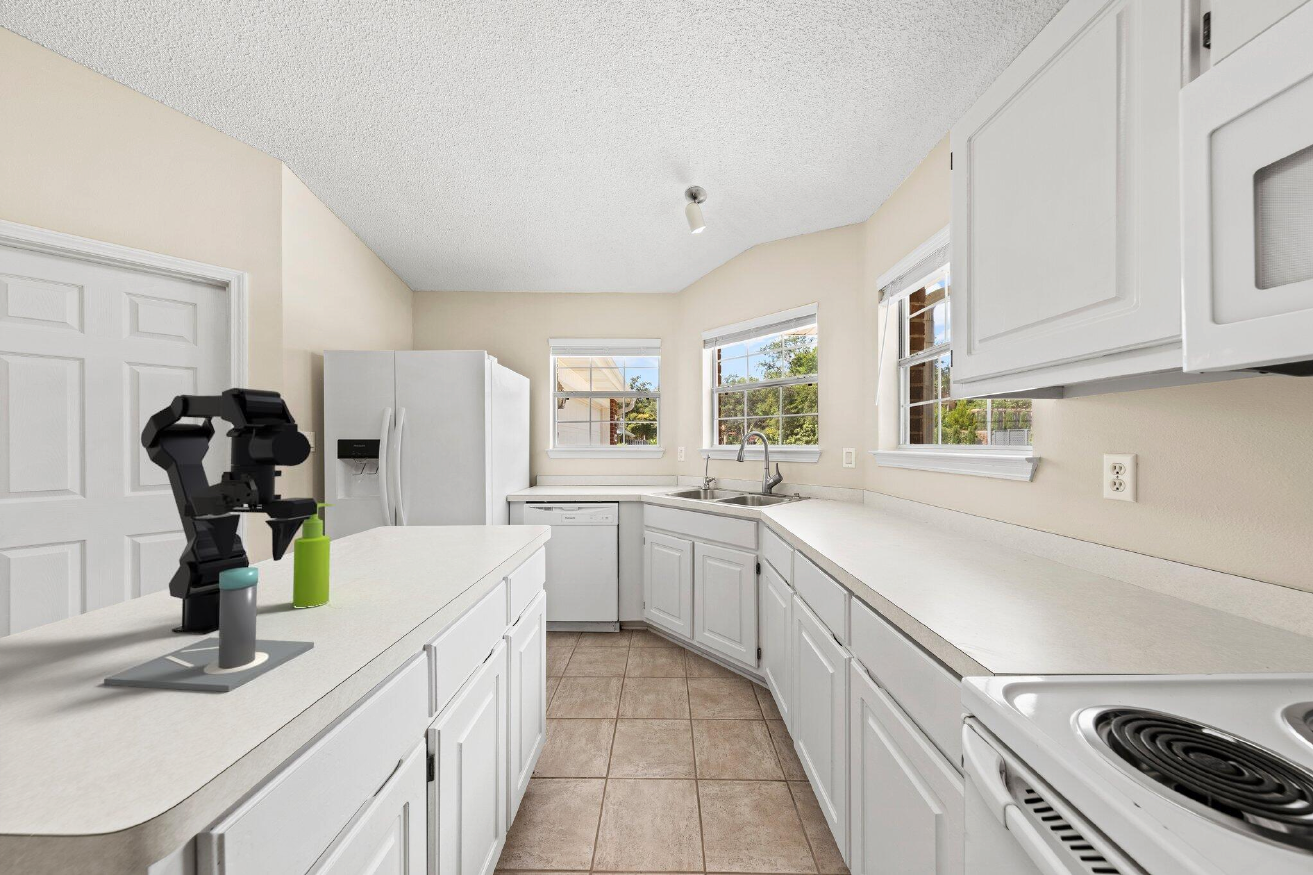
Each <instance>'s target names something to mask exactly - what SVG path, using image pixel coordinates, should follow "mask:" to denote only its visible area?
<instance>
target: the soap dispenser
mask: <svg viewBox="0 0 1313 875" xmlns="http://www.w3.org/2000/svg"><path fill="white" fill-rule="evenodd" d="M332 505H333V504H332V503H327V502H323V503H322V502H321V503H320V502H317V514H314V515H308V516H310V519H308V520H305V521H304V522H303V524H302V525H301V526H302V529H301V533H302V534H301V537H298V538H296V539H294V540H293V542H294V543H293V586H292V588H293V590H292V591H293V592H292V607H293V606H296V607H308V606H316V605H319V604H323V603H326V602H327V601H330V559H331V558H330V557H331V556H330V554H331V552H330V549H331V537H330V536H327V535H324V520H323V519H321V518H319V508H322V507H332ZM326 604H327V603H326Z"/></svg>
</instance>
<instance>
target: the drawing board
mask: <svg viewBox="0 0 1313 875" xmlns="http://www.w3.org/2000/svg"><path fill="white" fill-rule="evenodd" d="M313 648H315V642H314V641H299V640H298V641H296V640H276V639H275V640H274V639H273V640H272V639H256V650H255V660H254V661H253V662H251V663H249V664H247V665H244V666H240V667H236V668H230V669H221V668H219V667H218V658H219V637H211V636H210V637H207V638H205V639H202V640H199V641H197V642H195V643H192V644H189V645H186V646H184V647H182V648H179V649H177V650H174V651H170V652H169V653H166V654H164V655H161V656H158V657H157V658H154V659H151V660H148V661H146V662H143V663H140V664H138V665H136V666H133V667H131V668H128V669H125V670H123V671H120V672H118V673H115V674H113V675H110V676H107V677H105V678H103V685H104V686H120V687H136V688H137V687H139V688H140V687H141V688H154V689H155V688H156V689H157V688H158V689H169V690H170V689H173V690H175V689H176V690H188V691H189V690H191V691H209V692H226V693H228V692H231V691H233V690H235V689H237V688H239V687H240V686H243V685H245V684H246V683H249V682H250V681H252V680H254V679H256V678H258V677H259V676H262V675H263V674H266V673H267V672H270V671H271V670H273V669H275V668H277V667H279V666H281V665H283V664H285V663H287V662H288V661H291V660H293V659H294V658H297V657H298V656H300V655H302V654H304V653H306V652H308V651H309V650H312V649H313Z"/></svg>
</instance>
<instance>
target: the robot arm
mask: <svg viewBox="0 0 1313 875" xmlns="http://www.w3.org/2000/svg"><path fill="white" fill-rule="evenodd" d="M281 396H282V395H281V393H280V392H278V391H274V390H265V389H264V390H263V389H262V390H261V389H252V388H244V387H243V388H241V387H231V388H228V389H225V390H223V391H221V394H220V395H193V394H180V395H176V396H175V397H173V399H172V401H171V403H170V405H168V406H166V407H165V408H162V409H161V410H159V411H157V412H156V413H154V414H152V415H151V416H150V417H149V419H148V421H147V423H146V424H145V425H144V426H145V427H144V428H143V430H142V432H141V434H140V436H141V437H140V443H141V446H142V447H143V448H144V449H145V450H146V453H147V455H148V458H149V460H150V462H152V463H153V464H155V465H157V466H158V467H160V468H161V469H162V470H164V471H165V472H166V474H167V477H168V480H169V484H170V488H171V491H172V494H173V498H174V501H175V504H176V507H177V511H178V515H179V519H180V520H181V524H182V528H183V532H184V535H185V539H186V545H185V547H184V549H183V551H182V553H181V555H180V557H179V559H178V561H179V563H178V564H179V567H178V568H177V570H176V572H175V573H174V575H173V577H172V578H171V579H170V581H169V583H168V589H169V596H170V597H172V598H178V599H180V600H182V604H181V605H182V606H181V610H182V611H181V625H180V626H177V627H174V628H173V629H171V632H172V633H179V634H180V633H183V634H184V633H185V634H186V633H187V634H204V635H205V634H209V633H210V632H213V631H217V630H219V617H220V588H219V578H220V572H223V571H226V570H230V569H236V568H246V567H250V561H249V557H248V554H247V551H246V550H245V548H244V546H243V541H242V537H241V536H240V535H239V534H238V533H237V531H238V527H239V523H240V518H241V514H240V513H247V514H248V513H249V514H250V513H252V514H258V513H259V514H267V515H268V517H269V518H270V519H268V520H265V523H266V525H268V526H269V528H270V529H271V546H272V547H271V548H272V549H271V550H272V560H273V561H274V562H277V561H281V560H282V558H283V557H284V555H285V553H286V551H287V549H288V548H289V546H290V544H291V542H292V540H293V539H294V537H295V535H296V534H297V532H298V531H299V529H301V526H302V524H303V522H304V521H305V520H308V519H310V516H308V515H314V514H317V503H318V502H317V501H316V500H315V498H313V497H289V498H282V494H277V493H275V492H276V478H277V477H282V472H283V471H282V470H280V469H278V470H277V469H276V466H277V467H280V466H281V467H294V466H299V465H301V464H302V463H304V462H305V461H306V460H307V459H308V458H309V456H310V454H311V451H312V450H311V449H312V445H311V444H310V441H309V439H308V437H307V436H306V435H305V434H304V433H302V432H300V431H299V426H298V423H296V420H295V418H294V417H293V415H292V413H291V412H290V410H289V408H288V406H287V403H286V401H285V400H284V398H282V397H281ZM182 418H194V419H195V418H197V419H204V421H203V423H202V424H201V425H200V424H197V423H178V422H179V421H181V419H182ZM213 418H220V419H221V420H223V421H226V422H227V423H230V424H232V426H233V427H232V428H230V429H229V430H228V431H226V434H225V435H226V437H227V438H231V439H230V440H231V442H230V443H231V444H230V471H222V472H223V474H221V476H220V478H221V480H220V482H218V483H216V484H212V485H210V484H209V480H208V477H207V475H206V471H205V467H204V465H203V459H204V458H205V457H206V455H207V453H208V452H209V449H210V445H209V444H210V443H211V440H212V438H213V437H214V435H215V433H216V430H215V428H214V425H213V423H212V420H213ZM245 505H247V506H245ZM238 513H239V514H238Z"/></svg>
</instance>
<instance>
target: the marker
mask: <svg viewBox="0 0 1313 875" xmlns="http://www.w3.org/2000/svg"><path fill="white" fill-rule="evenodd" d="M258 583H259V568H258V567H253V566H252V567H250V566H248V567H246V568H236V569H230V570H226V571H223V572H220V578H219V588H220V617H219V629H218V638H219V658H218V667H219V668H221V669H230V668H236V667H240V666H244V665H247V664H249V663H251V662H253V661H254V660H255V650H256V640H257V637H256V635H257V606H258V605H257V602H258V601H257V599H258V598H257V597H258V596H257V595H258Z"/></svg>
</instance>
